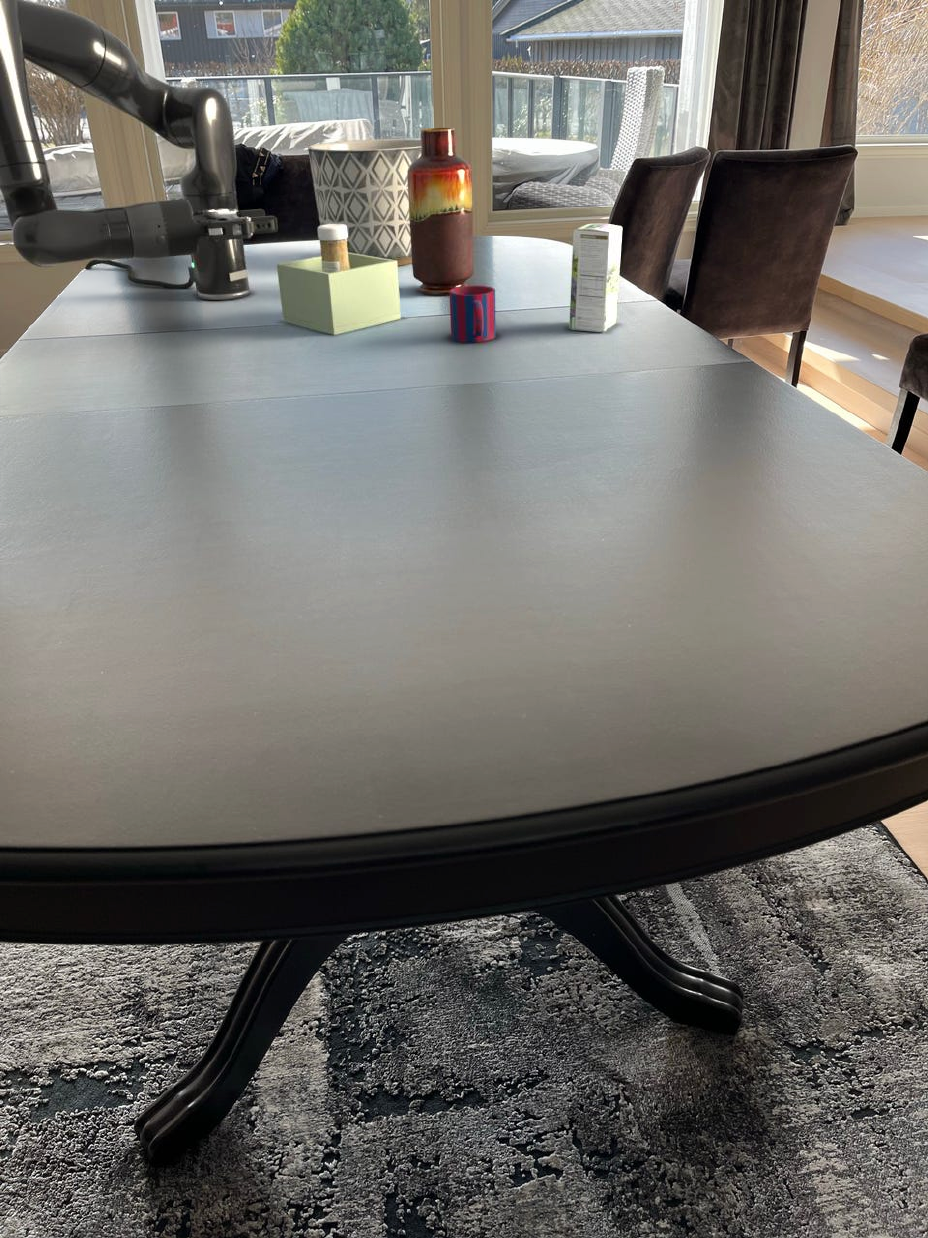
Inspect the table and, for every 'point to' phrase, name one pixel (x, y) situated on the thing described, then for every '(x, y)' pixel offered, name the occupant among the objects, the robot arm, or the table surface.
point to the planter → (367, 193)
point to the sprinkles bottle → (333, 247)
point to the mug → (472, 313)
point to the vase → (440, 214)
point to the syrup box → (595, 277)
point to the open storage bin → (339, 294)
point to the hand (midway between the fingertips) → (270, 219)
